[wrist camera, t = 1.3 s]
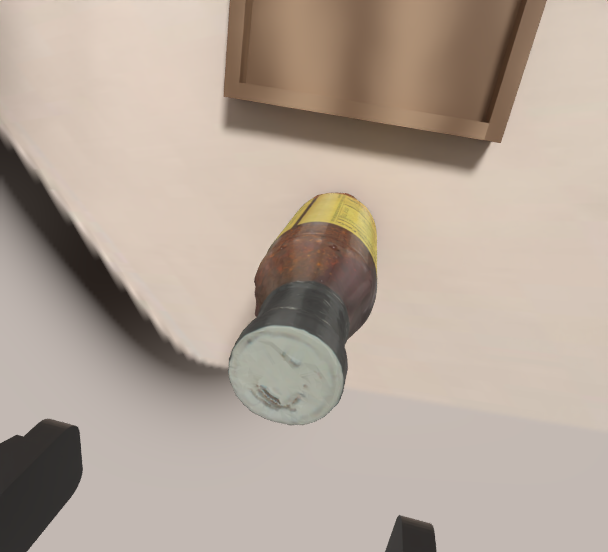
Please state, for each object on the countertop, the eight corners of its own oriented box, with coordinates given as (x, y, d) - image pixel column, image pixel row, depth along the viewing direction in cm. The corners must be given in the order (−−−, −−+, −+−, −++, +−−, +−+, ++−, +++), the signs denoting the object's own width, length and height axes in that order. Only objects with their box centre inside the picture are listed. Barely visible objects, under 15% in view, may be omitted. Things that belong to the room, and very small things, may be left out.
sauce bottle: (314, 276, 34) (227, 470, 16) (284, 204, 32) (148, 331, 14) (392, 251, 32) (395, 441, 14) (365, 173, 30) (328, 274, 12)
